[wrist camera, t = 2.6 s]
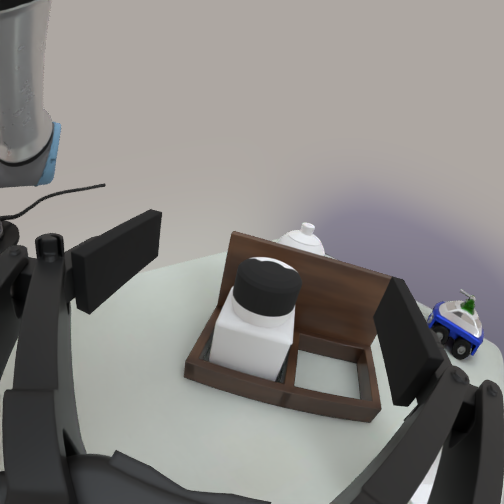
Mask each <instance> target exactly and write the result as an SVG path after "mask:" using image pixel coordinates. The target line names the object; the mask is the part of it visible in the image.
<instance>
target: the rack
mask: <svg viewBox="0 0 504 504" xmlns="http://www.w3.org/2000/svg"><path fill="white" fill-rule="evenodd" d="M253 257H267V258H272V259H276V260H279V261H282V262H284V263H286V264H287V265H289V266H291V267H292V268H294V269H295V270H296V271H297V272H298V273H299V275H300V277H301V279H302V286H301V289H300V292H299V295H298V298H297V301H296V304H295V317H294V331H293V343H292V346H291V348H290V351H289V353H288V355H287V358H286V360H285V363H284V365H283V369H282V375H281V381H280V383H279V382H275V381H271V380H267V379H263V378H260V377H256V376H253V375H249V374H246V373H242V372H239V371H236V370H233V369H229V368H226V367H223V366H220V365H217V364H214V363H211V362H208V361H205V360H203V359H204V357H205V355H206V353H207V351H208V349H209V347H210V345H211V343H212V340H213V335H214V329H215V324H216V321H217V319H218V317H219V314H220V312H221V310H222V308H223V306H224V303H225V301H226V299H227V297H228V295H229V292H230V290H231V288H232V287H233V286H234V283H235V278H236V274H237V269H238V266H239V264H240V263H241V262H243V261H244V260H246V259H249V258H253ZM391 277H392V276H389V275H386V274H382V273H379V272H376V271H372V270H369V269H366V268H362V267H359V266H355V265H352V264H349V263H345V262H342V261H338V260H335V259H332V258H328V257H325V256H321V255H318V254H314V253H311V252H307V251H304V250H300V249H297V248H293V247H290V246H286V245H283V244H279V243H276V242H272V241H268V240H265V239H261V238H258V237H254V236H251V235H247V234H243V233H240V232H236V231H233V232H232V234H231V238H230V243H229V248H228V253H227V258H226V263H225V268H224V273H223V278H222V283H221V288H220V293H219V299H218V304H217V306H216V308H215V310H214V312H213V313H212V315H211V317H210V319H209V320H208V322H207V324H206V326H205V328H204V329H203V331H202V333H201V335H200V336H199V338H198V340H197V342H196V344H195V345H194V347H193V349H192V351H191V352H190V354H189V356H188V358H187V359H186V361H185V370H184V377H185V378H188V379H190V380H193V381H196V382H199V383H202V384H205V385H208V386H211V387H214V388H217V389H220V390H223V391H226V392H229V393H233V394H236V395H239V396H243V397H246V398H250V399H253V400H257V401H261V402H264V403H268V404H272V405H276V406H281V407H285V408H289V409H294V410H298V411H303V412H308V413H313V414H318V415H323V416H329V417H335V418H341V419H348V420H354V421H362V422H371V421H372V420H373V419H374V418H375V417H376V415H377V414H378V413H379V412H380V411H381V403H380V396H379V390H378V384H377V378H376V372H375V367H374V362H373V357H372V351H371V347H370V345H371V344H372V342H373V340H374V338H375V337H376V335H377V331H376V327H375V324H374V320H373V316H374V314H375V312H376V310H377V308H378V306H379V303H380V301H381V299H382V297H383V295H384V293H385V291H386V288H387V286H388V284H389V282H390V279H391ZM298 349H299V350H303V351H307V352H311V353H315V354H319V355H323V356H328V357H332V358H336V359H341V360H345V361H350V362H355V363H357V369H358V378H359V387H360V397H361V400H360V399H354V398H348V397H343V396H337V395H332V394H327V393H322V392H317V391H312V390H308V389H303V388H299V387H295V386H294V381H295V373H296V365H297V356H298Z"/></svg>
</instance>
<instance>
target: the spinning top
mask: <svg viewBox="0 0 504 504" xmlns="http://www.w3.org/2000/svg"><path fill="white" fill-rule="evenodd" d="M314 228H315V227H314V225H312V224H310V223H302V227H301V230H293V231H289V232H288V233H287V234H285V235H284V236H282V237H281V238H280V239H279V240H278V242H277V243H279V244H283V245H286V246H290V247H293V248H297V249H300V250H304V251H307V252H311V253H314V254H318V255H321V256H325V252H324V248H323V246H322V244H321V241H320V240H319V239H318V238H317V237H316V236H315V235H313V234H312V233H313V230H314Z"/></svg>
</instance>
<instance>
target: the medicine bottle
mask: <svg viewBox="0 0 504 504" xmlns="http://www.w3.org/2000/svg"><path fill="white" fill-rule="evenodd" d="M301 286H302V279H301V277H300V275H299V273H298V272H297V271H296V270H295V269H294V268H292V267H291V266H289V265H287V264H286V263H284V262H282V261H279V260H276V259H272V258H267V257H253V258H249V259H246V260H244V261H243V262H241V263H240V264H239V266H238V269H237V274H236V278H235V283H234V286H233V287H232V288H231V290H230V292H229V295H228V297H227V299H226V301H225V303H224V306H223V308H222V310H221V312H220V314H219V317H218V319H217V321H216V324H215V329H214V335H213V340H212V345H211V351H210V356H209V362H211V363H214V364H217V365H220V366H223V367H226V368H229V369H233V370H236V371H239V372H242V373H246V374H249V375H253V376H256V377H260V378H263V379H267V380H271V381H275V382H276V381H277V379H278V376H279V374H280V372H281V370H282V367H283V365H284V363H285V360H286V358H287V355H288V353H289V351H290V348H291V346H292V343H293V331H294V317H295V304H296V301H297V298H298V295H299V292H300V289H301Z"/></svg>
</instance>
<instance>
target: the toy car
mask: <svg viewBox="0 0 504 504" xmlns="http://www.w3.org/2000/svg"><path fill="white" fill-rule="evenodd" d="M460 292H461V293H463V294H465V295H466V296H468V297H469V299H466V301H465V302H463V301H449V302H443V301H442V302H439V303H437V304H436V305H435V307H434V308H433V311H432V313H431V314H430V315H429V317H428V320H427V324H428V326H429V328H431V327H432V326H433V328H432V330H433V331H434V332H435V333H436V334H437V335H438V337H439V339H440V341H441V344H442V345H443V344H444V343H446V341H447V340H448V336H450V337H452V338H453V339H454V340H455V342H454V345H453V349H452V353H453V355H454V357H456V358H457V359H464V358H466V357H467V356H468V355H469V354H470V350H471V348H472V350H471V355H472V356H473V355H474V354H475V352H476V351H477V349H478V347H479V346H480V345H481V343H482V342H483V338H484V331H483V328H482V325H481V322H480V319H479V317H478V313H477V312H476V310H475V309H474V307H475V304H474V302H475V296H473V295H469V294H468V293H466V292H465V291H464V290H462V289H461V290H460Z"/></svg>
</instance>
